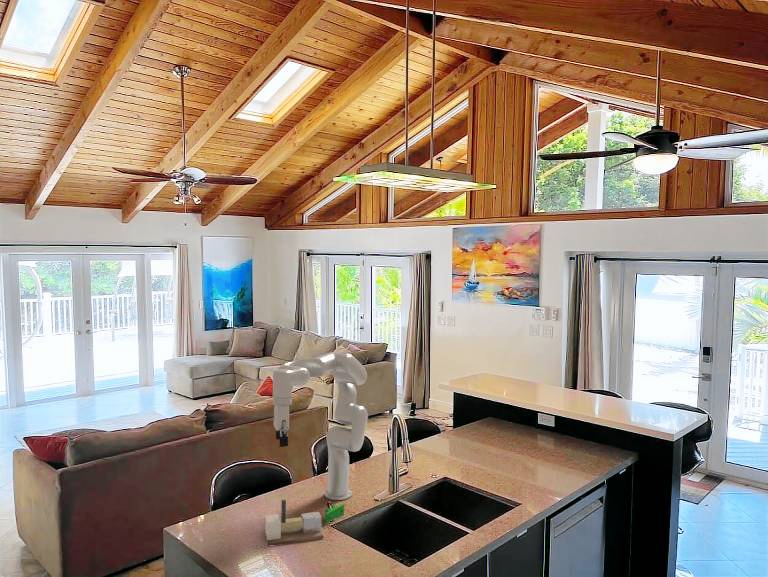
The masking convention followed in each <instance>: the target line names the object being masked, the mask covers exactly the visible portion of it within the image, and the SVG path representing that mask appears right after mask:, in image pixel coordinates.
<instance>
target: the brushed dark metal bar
mask: <svg viewBox="0 0 768 577" xmlns="http://www.w3.org/2000/svg"><path fill="white" fill-rule="evenodd" d="M286 505H287V501H286V499H281V500H280V521H281V531H283V530H291V529H298V528H303V518H302V517H301V516H300V517H292V518H286V516H287V515H286V514H287V510H286V509H287V506H286Z"/></svg>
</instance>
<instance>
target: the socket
mask: <svg viewBox="0 0 768 577" xmlns="http://www.w3.org/2000/svg"><path fill="white" fill-rule="evenodd" d="M280 520H281V517H280V515H279V514H278V513H275V514H268V515H266V514H265V516H264V524H265V525H264V529H265V533H266V536H265V538H266V537H267V540H273V539H280V538H281V521H280ZM265 533H264V534H265ZM267 540H266V541H267Z"/></svg>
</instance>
